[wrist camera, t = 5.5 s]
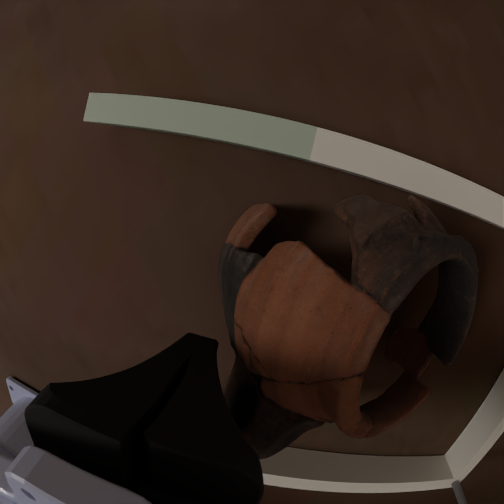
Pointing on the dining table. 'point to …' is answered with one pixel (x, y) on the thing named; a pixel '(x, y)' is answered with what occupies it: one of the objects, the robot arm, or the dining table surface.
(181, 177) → the dining table surface
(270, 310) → the brown piece
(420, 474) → the open rectangular rail frame
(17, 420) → the robot arm
